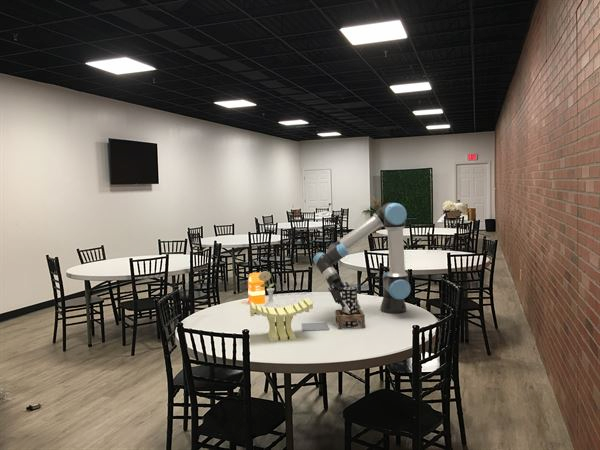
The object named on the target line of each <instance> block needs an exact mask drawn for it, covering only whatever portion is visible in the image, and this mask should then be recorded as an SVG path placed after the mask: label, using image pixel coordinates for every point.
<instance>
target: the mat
mask: <svg viewBox="0 0 600 450" xmlns="http://www.w3.org/2000/svg"><path fill="white" fill-rule="evenodd" d="M301 329H302V332H312V331H313V332H317V331H330V328H329V324H328V322H327V321H326V322H307V323H305V322H302V323H301Z"/></svg>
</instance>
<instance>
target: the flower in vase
mask: <svg viewBox="0 0 600 450" xmlns="http://www.w3.org/2000/svg"><path fill="white" fill-rule="evenodd" d="M270 272H271V271H266V270H264V271H262V272H261V273H260V272H259V273H260V274H259V276H258V278H259V280H261V281H262V280H263V281H264V282H268V281H270V279H271V278H272V273H270ZM274 285H275V282H273V283H270V284H269V286H268V284H267V283H264V284H262V285H261V286H260V287H267V288H266V291H267V293H268V301H267V302H265V303H264V305H263V306H265V308H266V309H267V307H273V308H278V307H281V306H280V305H279V304H278V303H276V302H275V301H274V299H273V297H274V296H273V295H274V290H275V288H272V287H273V286H274Z"/></svg>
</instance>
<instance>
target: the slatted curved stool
mask: <svg viewBox="0 0 600 450" xmlns="http://www.w3.org/2000/svg"><path fill="white" fill-rule="evenodd" d="M260 305H261V304H256V305H254V303H253V302H250V303H249V311H250V312H249V313H250V317H255V316H262V317H265V318H266V319H267V322H268V324H269V325H268V327H269V329H268V332H267V333H268V334H267V335H268V338H269V340H270V342H279V341H280V342H285V341H288V340H289V341H296V340H298V339H297V337H296V336H295V333H294V332H293V329H292V321H293V318H294V316H297V314H302V313H304V312H305V313H310V310H312V309H313V310H314V304H313V302H312V300H311V299H310V298H309V297H306V298H304V299H303V300H300V301H298V303H297V302H295V303H293V304H291V305H286V306H284V307H282V306H280V307H278V308H273V307H267V309H266V308H265V306H264V305H261V306H260Z"/></svg>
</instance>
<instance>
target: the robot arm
mask: <svg viewBox="0 0 600 450" xmlns="http://www.w3.org/2000/svg"><path fill="white" fill-rule="evenodd" d="M407 216H408V213H407V210H406V207H404V205H402V204H400V203H398V202H386V203H385V204H384V205H383V206H381V207H380V208H379V209H378V210H376V211H375V212H374V213H373V216H371V217H369V218H368V219H367V220H365V221H364V222H362V223H361V224H360V225H358V226H357V227H355V228H354V229H353V230H352V231H350V232H348V233H347V234H346V235H344V236H343V237H341V238H340V239H339V240H338V241H337V240H336V242H334V243H332V244H330V245H329V246H328V247H327V248H328V249H327V251H328V252H326V253H324V252H318V253H317V254H315V255H314V257H313V258H312V261H313V263H314V265H315V267H316V268H317V269H318V271H319V272H320V274H321V275H322V276H323V278H324V279H325V281H326V282H327V284H328V288H327V289H328V291H329V292H330V295H331V296H332V298H333V300H334V302H335V303H336V304H338V305H340V306H341V308H342V307H343V308H344V310H345V311H346V313H348V312H349V311H350V309H349V307H348V306H347V304H346V303H345V301H344V300H343V301H342V291H341V288H343V287H351V286H350V285H349V283H348V281H345V282H343V281H342V278H341V276H340V275H339V273H338V272H337V270H336V269H335V268H334V266H333V265H335V264H336V263H338V262H339V261H340V260H342V259H343V258H345V257H346V256H347V255H348V254H349V251H348V250H349V249H351V248H352V247H353V246H355V245H356V244H358V243H359V242H361V241H363V239H365V238H366V237H368V236H369V235H370V234H372V233H373V232H375V231H376V230H378V229H380V227H384V228H385V230H386V231H387V242H388V243H387V245H388V246H387V247H388V263H389V265H388V267H389V271H388V272H384V273H383V274H382V285H383V287H382V291H383V293H382V294H383V295H382V296H383V298H382V301H381V304H380V311H381V313H382V312H383V313H385V314H401V313H405V312H407V304H406V302H405V300H404V299H406V298H408V296H409V295H410V293H411V285H410V283H409V274H408V272H406V264H405V263H406V262H405V250H404V249H405V248H404V247H405V244H404V228H405V227H406V220H407V218H408V217H407ZM361 308H362V305H361V304H360V302H359V300H358V299H357V309H358V310H359V309H361Z"/></svg>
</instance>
